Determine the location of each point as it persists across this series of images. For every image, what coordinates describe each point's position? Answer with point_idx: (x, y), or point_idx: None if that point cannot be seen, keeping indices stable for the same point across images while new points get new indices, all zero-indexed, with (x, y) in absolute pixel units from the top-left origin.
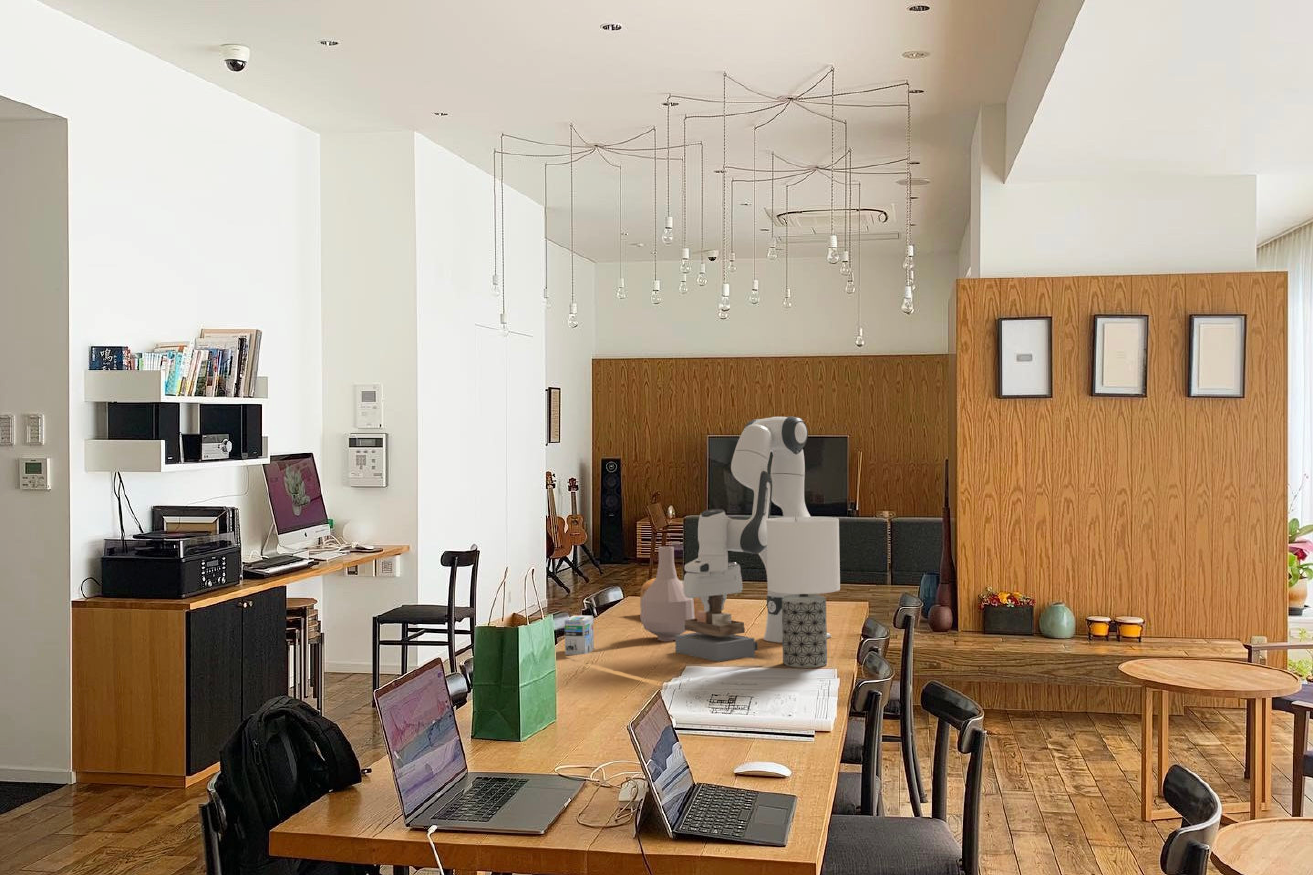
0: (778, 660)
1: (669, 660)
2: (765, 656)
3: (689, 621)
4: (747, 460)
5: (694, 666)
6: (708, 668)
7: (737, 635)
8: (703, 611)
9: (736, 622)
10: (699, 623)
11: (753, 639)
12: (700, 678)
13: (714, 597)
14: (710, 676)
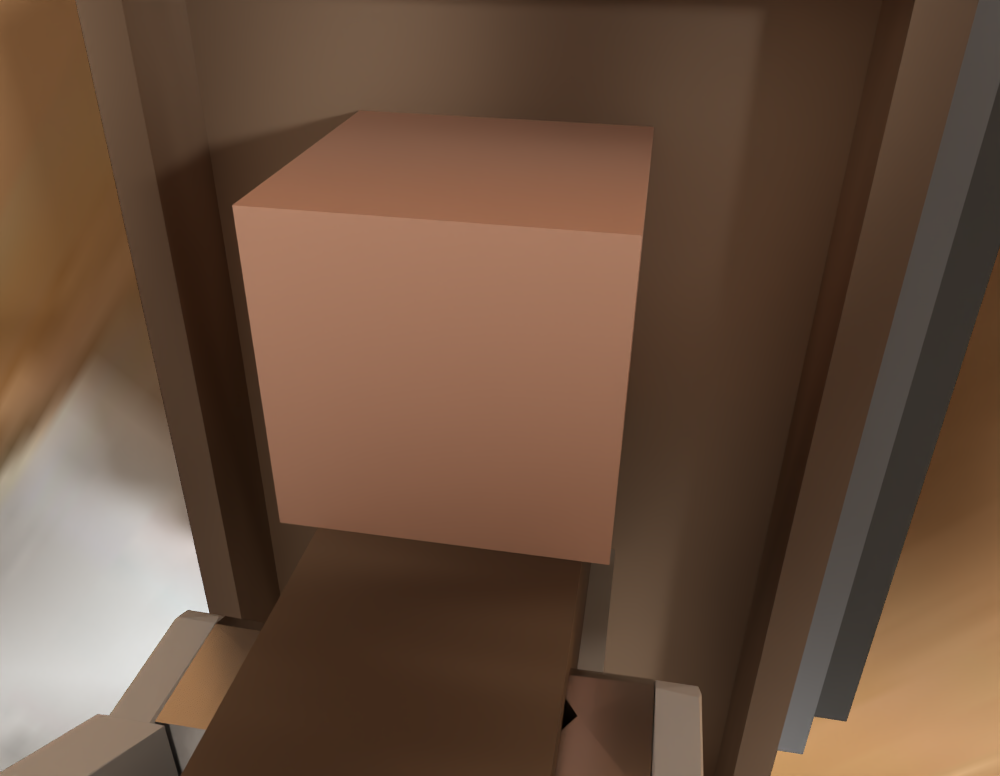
0: (850, 742)
1: (44, 38)
2: (953, 588)
3: (110, 127)
4: None
5: (136, 437)
6: (195, 558)
7: (847, 522)
8: (389, 332)
9: (734, 760)
10: (180, 430)
11: (787, 740)
12: (4, 695)
13: None
14: (83, 704)
